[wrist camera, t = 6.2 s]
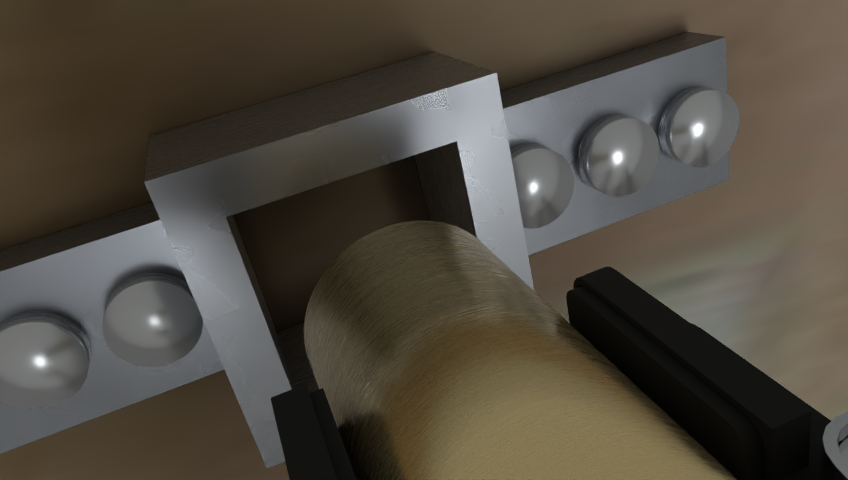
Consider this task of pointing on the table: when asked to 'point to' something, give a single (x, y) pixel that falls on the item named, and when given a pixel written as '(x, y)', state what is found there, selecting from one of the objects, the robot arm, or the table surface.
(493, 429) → the pin
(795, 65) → the table surface
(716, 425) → the robot arm
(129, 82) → the table surface
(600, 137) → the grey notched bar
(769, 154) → the table surface
